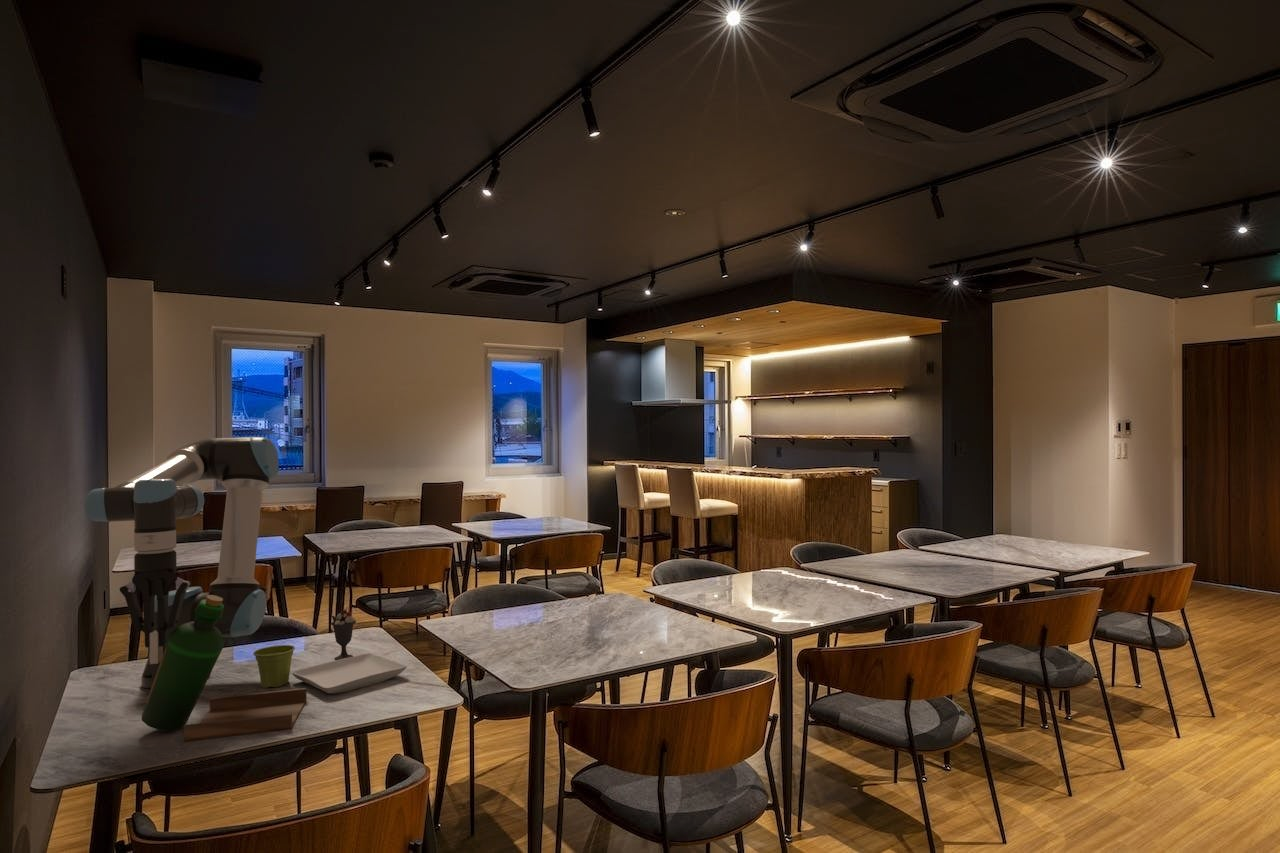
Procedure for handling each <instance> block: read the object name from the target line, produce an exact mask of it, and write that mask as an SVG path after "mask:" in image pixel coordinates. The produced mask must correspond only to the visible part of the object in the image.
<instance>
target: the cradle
mask: <svg viewBox="0 0 1280 853" xmlns="http://www.w3.org/2000/svg"><path fill="white" fill-rule="evenodd" d="M307 696H308V695H307V687H302V688H293V689H292V688H291V689H283V690H272V691H271V690H270V691H263V692H253V693H246V694H245V693H243V694H236V695H225V696H224V695H223V696H215V697H211V698H209V710H208V712H207V713H206V714H205V715H204V716H203V717H202V719H201V720H200V721H199V722H198V723H191V724H185V725H184V726H183V737H184V738H183V741H184V742H193V741H201V740H209V739H217V738H218V739H219V738H225V737H234V736H243V735H252V734H261V733H269V732H277V731H284V730H285V731H286V730H292V728H293V727H294V725H295V723H296V722H297V719H298V717H299V715H300V714H301V712H302V710H303V708H304V706H305V705H306V702H307Z"/></svg>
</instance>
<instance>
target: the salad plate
mask: <svg viewBox="0 0 1280 853" xmlns="http://www.w3.org/2000/svg"><path fill="white" fill-rule="evenodd" d="M406 669H407V665H406V664H402V663H400V662H397V661H395V660H391V659H388V658H386V657H382V656H379V655H377V654H373V653H368V652H367V653H364V654H359V655H353V657H349V658H344V659H340V660H335V659H334V660H332V661H328V662H323V663H320V664H317V665H313V666H309V667H305V668H301V669H297V670H294V671H292V673H291V674H292V675H293V677H294V678H295V679H298V680H300V681H301V682H303V683H305V684H307V685H311V686H313V687H315V688H317V689H319V690H320V691H323V692H325V693H327V694H341V693H345V692H349V691H353V690H357V689H361V688H365V687H367V686H371V685H374V684H378V683H381V682H386V681H387V680H388V681H389V679H391V678H394V677H396V676H398V675H400V674H402V673H403V672H404V671H405V670H406Z"/></svg>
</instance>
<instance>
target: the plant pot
mask: <svg viewBox="0 0 1280 853" xmlns="http://www.w3.org/2000/svg"><path fill="white" fill-rule="evenodd" d="M294 650H296V647H295V645H290V644H281V645H272V646H266V647H262V648H259V649H257V650H255V651H253V653H252V654H253V656H255V660H256V662H257V666H258V672H259V673H258V674H259V678H260V684H261V687H262V688H270V687H272V688H277V687H278V688H279V687H282V686H284V685H287V683H289V682H290V672H291V665H292V656H293V655H294Z"/></svg>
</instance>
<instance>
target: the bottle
mask: <svg viewBox="0 0 1280 853" xmlns="http://www.w3.org/2000/svg"><path fill="white" fill-rule="evenodd" d="M222 601H223V599H222V598H221V597H218V596H215V595H208V596H207V597H206V600H202V601H201V602H200V603H199V604H198V606H197V607H196V609H195V613H196V617H195V620H194V622H189V623H185V624H183V625H181V626H179V627H177V628H176V629H175V630H173V631H172V632H171V634H170V636H169V639H168V642H167V645H166V648H165V651H164V653H163V656H162V659H161V662H160V665H159V668H158V671H157V673H156V676H155V679H154V682H153V685H152V688H151V689H150V690H149V694H148V697H147V699H146V703H145V705H144V707H143V712H142V714H141V721H142V722H143V723H144V724H145V725H146V726H148V727H149V728H152V729H155V730H161V731H173V730H178V729H181V728H184V726H185V725H187V723H188V721H189V718H190V716H191V715H192V713H193V710H194V709H195V706H196V704H197V701H198V700H199V698H200V696H201V694H202V692H203V690H204V688H205V685H206V684H207V682H208V680H209V678H210V676H211V673H212V671H213V669H214V667H215V665H216V663H217V661H218V659H219V657H220V655H221V653H222V650H223V648H224V647H225V641H224V637H223V636H222V633H221V632H220V631H219V630H218V629H217V628H216V627H215V624H216V622H217V620H218V619H219V618H221V617H222V615H223V609H224V605H223V604H222Z"/></svg>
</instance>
